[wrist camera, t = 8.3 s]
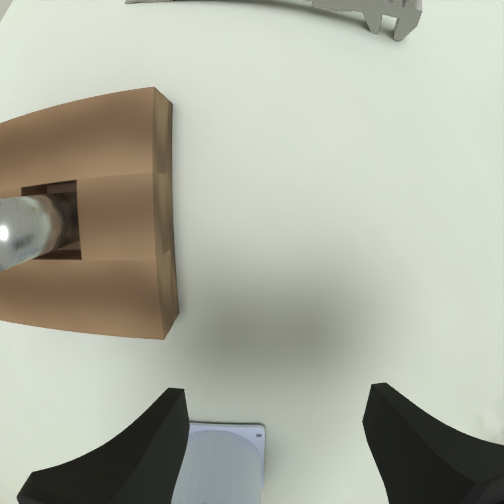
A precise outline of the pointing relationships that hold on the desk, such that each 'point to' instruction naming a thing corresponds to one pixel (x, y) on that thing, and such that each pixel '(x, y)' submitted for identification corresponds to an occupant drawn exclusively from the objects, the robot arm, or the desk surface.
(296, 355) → the desk surface
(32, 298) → the block
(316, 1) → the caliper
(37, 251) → the pin
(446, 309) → the desk surface
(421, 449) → the robot arm
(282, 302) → the desk surface
